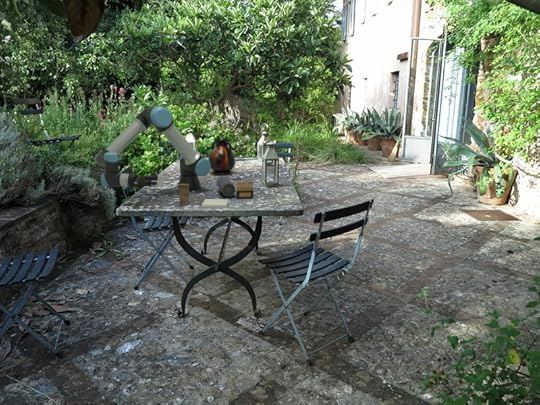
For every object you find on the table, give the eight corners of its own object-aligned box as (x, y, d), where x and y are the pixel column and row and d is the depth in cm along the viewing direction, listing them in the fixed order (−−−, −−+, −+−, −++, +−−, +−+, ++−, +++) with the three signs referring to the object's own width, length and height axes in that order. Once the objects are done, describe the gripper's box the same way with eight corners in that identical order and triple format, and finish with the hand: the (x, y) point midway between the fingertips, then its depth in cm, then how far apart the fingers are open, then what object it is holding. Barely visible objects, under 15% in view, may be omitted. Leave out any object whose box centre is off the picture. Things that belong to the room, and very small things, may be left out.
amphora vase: (202, 174, 360) (201, 138, 353) (220, 170, 377) (220, 136, 370) (223, 177, 348) (222, 140, 341) (241, 173, 365) (240, 138, 358)
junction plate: (205, 201, 273) (205, 199, 273) (228, 201, 273) (228, 199, 273) (201, 207, 260) (201, 204, 259) (226, 207, 259) (226, 205, 259)
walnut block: (181, 203, 268) (180, 183, 265) (189, 203, 268) (188, 183, 265) (179, 205, 264) (178, 185, 261) (188, 205, 264) (187, 185, 261)
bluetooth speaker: (215, 191, 302) (215, 176, 300) (229, 190, 304) (229, 175, 302) (221, 198, 281) (221, 182, 278) (236, 197, 283) (236, 182, 281)
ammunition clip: (236, 199, 280) (236, 180, 277) (236, 198, 282) (235, 179, 279) (253, 198, 282) (253, 179, 279) (253, 197, 283) (253, 178, 281)
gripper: (136, 182, 275) (171, 183, 275) (122, 191, 251) (160, 191, 251) (135, 170, 274) (170, 171, 273) (121, 177, 249) (160, 178, 249)
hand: (166, 181), depth 262 cm, fingers open, 13 cm apart
